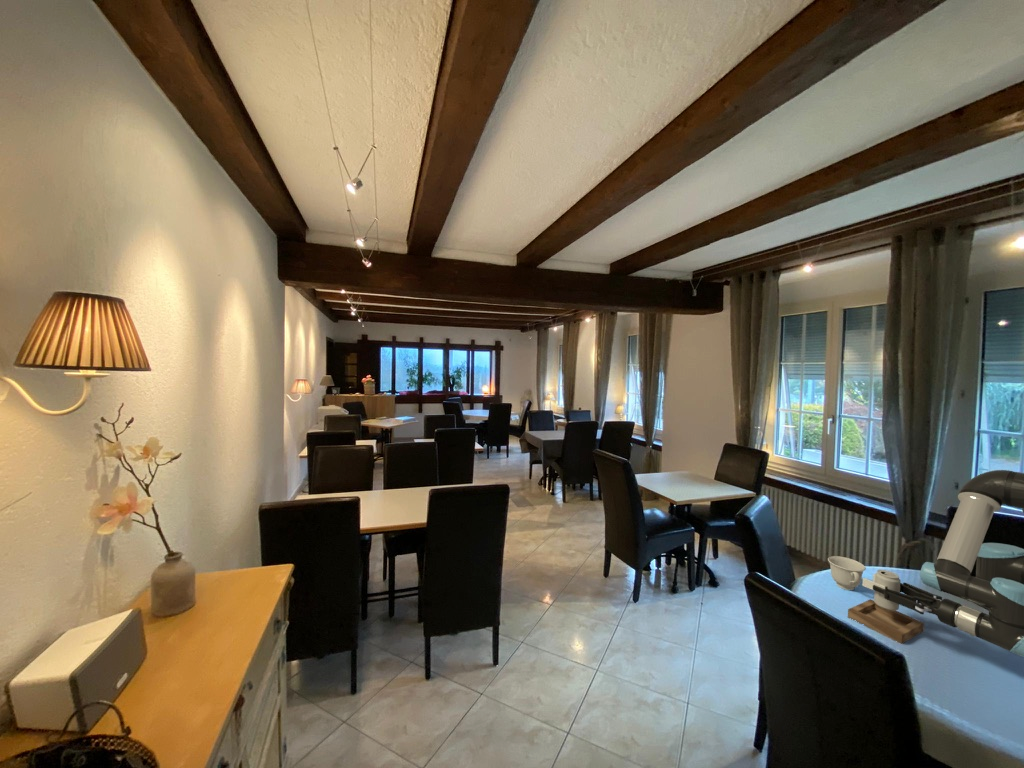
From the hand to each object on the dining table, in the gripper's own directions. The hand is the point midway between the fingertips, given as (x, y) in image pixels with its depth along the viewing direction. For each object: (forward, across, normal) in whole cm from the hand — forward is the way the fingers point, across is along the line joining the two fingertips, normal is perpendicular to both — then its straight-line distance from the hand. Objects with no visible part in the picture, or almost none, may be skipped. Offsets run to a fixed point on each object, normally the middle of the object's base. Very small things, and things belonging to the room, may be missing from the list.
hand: (868, 579), depth 144 cm
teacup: (+13, +14, -14) cm, 24 cm away
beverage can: (-5, 0, -7) cm, 9 cm away
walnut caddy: (-5, 0, -14) cm, 15 cm away
